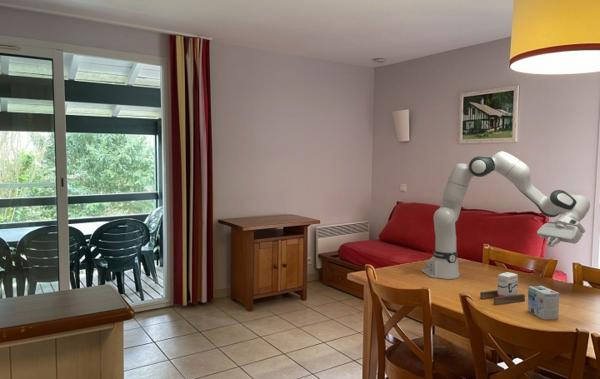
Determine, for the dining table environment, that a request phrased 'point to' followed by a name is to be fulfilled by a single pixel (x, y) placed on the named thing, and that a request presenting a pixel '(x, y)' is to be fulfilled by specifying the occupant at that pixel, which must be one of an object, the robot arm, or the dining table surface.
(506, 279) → the ink box
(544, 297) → the light bulb box
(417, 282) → the dining table surface
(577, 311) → the dining table surface
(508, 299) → the walnut chute
